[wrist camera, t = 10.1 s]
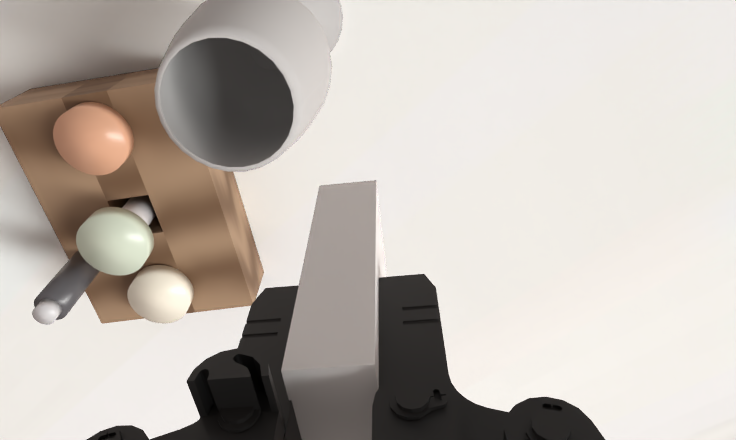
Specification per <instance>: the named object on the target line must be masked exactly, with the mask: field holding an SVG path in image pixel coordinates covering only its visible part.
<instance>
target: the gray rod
mask: <svg viewBox="0 0 736 440" xmlns="http://www.w3.org/2000/svg"><path fill="white" fill-rule="evenodd" d="M99 272H100V271H99V270H97V269H95V268H94V267H92V266H91V265H90V264H89V263H87V262H86V261H85V259H84V258H83V257H82V256H81V254H80V252H79V251H77V252H76V253H75V254H74V255H73V256H72V257H71V258H70V260H69V261H68V262H67V263H66V264H65V265H64V266H63V268H62V269H61V270H60V271H59V272H58V273H57V274H56V276H55V277H54V278H53V279H52V280H51V281H50V282H49V284H48V285H47V286H46V287H45V288H44V289H43V290H42V292H41V293H40V294H39V295H38V296H37V297H36V299H35V300H34V306H35V309H34V310H33V312H32V315H33V317H34V319H35V320H36V321H38V322H39V323H42V324H52V323H53V322H54V321H55V320H59V319H62V318H64V317H65V316H66V315H67V314H68V312H69V311H70V310H71V308H72V307H73V306H74V304H75V303H76V302H77V300H78V299H79V298H80V297H81V295H82V294H83V293H84V291H85V290H86V289H87V287H88V286H89V285H90V283H91V282H92V281H93V280H94V278H95V277H96V276H97V274H98V273H99Z"/></svg>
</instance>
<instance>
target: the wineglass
mask: <svg viewBox="0 0 736 440" xmlns="http://www.w3.org/2000/svg"><path fill="white" fill-rule="evenodd" d="M342 20H343V16H342V9H341V4H340V1H339V0H207V1H205V2H204V3H202V4H201V5H200V6H199V7H198V8H197V9H196V10H195V11H194V13H193V14H192V15H191V16H190V17H189V18H188V19H187V20H186V21H185V23H184V24H183V25H182V26H181V28H180V29H179V30H178V32H177V33H176V35H175V36H174V38H173V40H172V41H171V43H170V45H169V47H168V50H167V52H166V54H165V56H164V58H163V60H162V62H161V64H160V66H159V69H158V72H157V77H156V83H155V89H154V92H155V104H156V109H157V112H158V115H159V118H160V121H161V124H162V125H163V127H164V129H165V130H166V132H167V134H168V135H169V137H170V139H171V140H172V141H173V142H174V143H175V144H176V145H177V146H178V147H179V148H180V149H181V150H182V151H183V152H184V153H186V154H187V155H188V156H190V157H191V158H193V159H194V160H195V161H197V162H199V163H202V164H204V165H206V166H208V167H211V168H214V169H219V170H223V171H228V172H244V171H249V170H253V169H257V168H260V167H262V166H264V165H266V164H268V163H270V162H272V161H274V160H275V159H277V158H278V157H279V156H281V155H282V154H283V153H284V152H285V151H286V150H287V149H288V148H289V147H291V146H292V145H293V144H294V143H295V142H296V141H297V140H298V139H299V138H300V137H301V136H302V135H303V134H304V132H305V131H306V130H307V129H308V127H309V126H310V124H311V123H312V121H313V120H314V118H315V117H316V115H317V114H318V112H319V111H320V109H321V108H322V106H323V104H324V102H325V99H326V96H327V93H328V90H329V86H330V82H331V69H332V62H331V56H330V52H331V51H332V50H333V48H334V47H335V45H336V43H337V42H338V39H339V36H340V33H341V30H342Z"/></svg>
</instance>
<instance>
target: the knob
mask: <svg viewBox="0 0 736 440" xmlns="http://www.w3.org/2000/svg"><path fill="white" fill-rule="evenodd" d="M127 296H128V301H129V304H130V305H131V307H132V308H133V310H134V311H135V312H136V313H137V314H138V315H140V316H141V317H143V318H145V319H147V320H149V321H152V322H156V323H172V322H175V321H178V320H179V319H181V318H182V317H183V316H184V315H185V314H186V312H187V310H188V308H189V306H190V304H191V302H192V300H193V296H194V290H193V286H192V284H191V282H190V280H189V279H188V278H187V277H186V276H185V275H184V274H183V273H182V272H180V271H179V270H178V269H175V268H173V267H170V266H166V265H152V266H148V267H146V268H144V269H142V270H141V271H140V272H139V273H138V274H137V276H136V277H135V279H134V280H133V282H132V283H131V285H130V286H129V289H128V293H127Z"/></svg>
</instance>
